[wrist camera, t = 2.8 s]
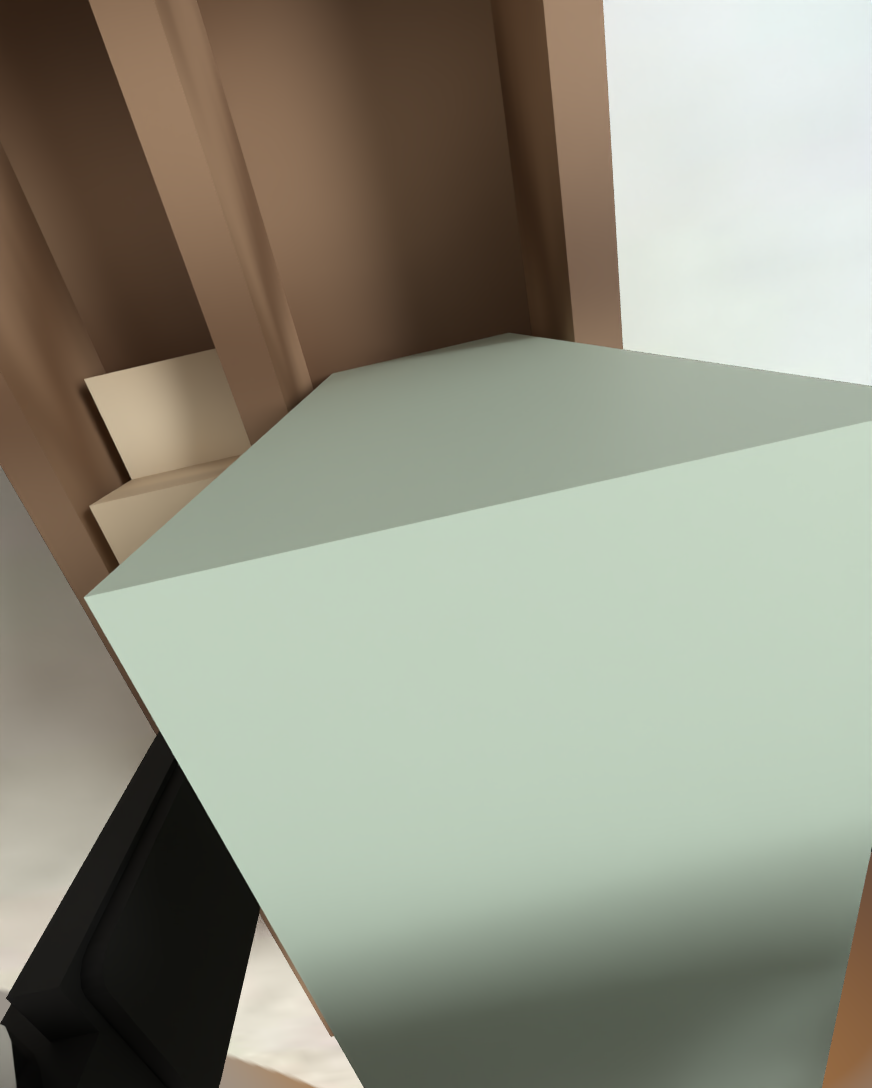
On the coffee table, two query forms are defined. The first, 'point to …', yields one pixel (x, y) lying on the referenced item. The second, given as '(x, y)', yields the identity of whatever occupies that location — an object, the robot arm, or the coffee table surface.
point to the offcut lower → (170, 413)
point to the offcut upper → (151, 504)
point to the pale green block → (536, 708)
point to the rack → (281, 209)
